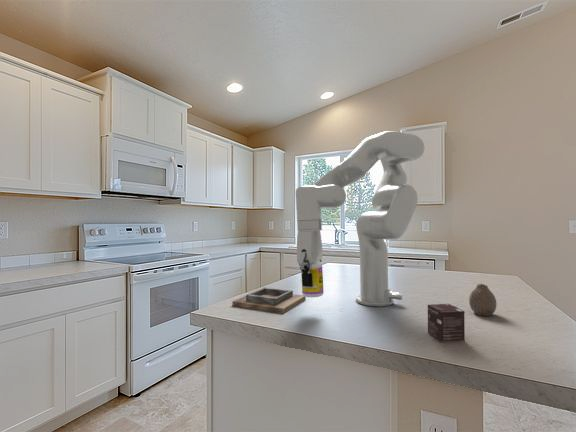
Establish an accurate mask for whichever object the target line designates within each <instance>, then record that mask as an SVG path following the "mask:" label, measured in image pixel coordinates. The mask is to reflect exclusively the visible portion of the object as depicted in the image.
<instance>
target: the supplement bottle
mask: <svg viewBox="0 0 576 432" xmlns="http://www.w3.org/2000/svg"><path fill="white" fill-rule="evenodd" d="M318 257H319V255H317V259H318ZM305 263H309V261H305ZM306 266H307V268H308V265H306ZM300 273H301V272H300ZM311 273H312V280H313V286H312V287H305V286H302V285H301V293H302V294H301V295H303V296H305V297H306V298H318V297H322V296H323V295H324V275H323V263H322V262H319V261H318V260H317V262H315V263H313V264H312V267H311ZM300 275H301V276H300V277H301V279H302V273H301V274H300Z"/></svg>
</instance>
